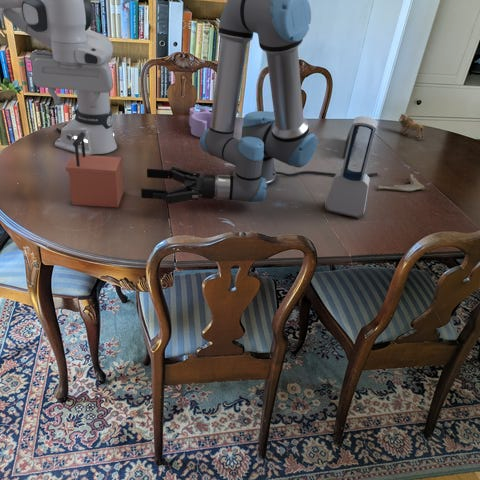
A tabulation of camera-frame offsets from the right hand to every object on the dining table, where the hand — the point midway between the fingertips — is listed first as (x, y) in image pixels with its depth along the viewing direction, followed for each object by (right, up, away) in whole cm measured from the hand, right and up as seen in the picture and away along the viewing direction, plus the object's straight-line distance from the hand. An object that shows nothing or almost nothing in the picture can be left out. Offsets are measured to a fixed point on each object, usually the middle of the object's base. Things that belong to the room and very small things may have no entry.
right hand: (144, 182), depth 140 cm
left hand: (-16, +19, -12) cm, 28 cm away
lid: (-14, +4, -3) cm, 15 cm away
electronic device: (+62, -8, +11) cm, 64 cm away
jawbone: (+86, +3, +32) cm, 92 cm away
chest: (-15, -4, +3) cm, 16 cm away
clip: (+13, +30, +61) cm, 69 cm away
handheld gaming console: (+75, +21, +57) cm, 97 cm away
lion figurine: (+108, +32, +80) cm, 139 cm away
